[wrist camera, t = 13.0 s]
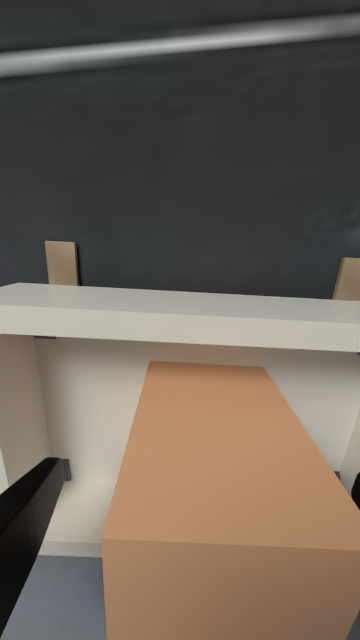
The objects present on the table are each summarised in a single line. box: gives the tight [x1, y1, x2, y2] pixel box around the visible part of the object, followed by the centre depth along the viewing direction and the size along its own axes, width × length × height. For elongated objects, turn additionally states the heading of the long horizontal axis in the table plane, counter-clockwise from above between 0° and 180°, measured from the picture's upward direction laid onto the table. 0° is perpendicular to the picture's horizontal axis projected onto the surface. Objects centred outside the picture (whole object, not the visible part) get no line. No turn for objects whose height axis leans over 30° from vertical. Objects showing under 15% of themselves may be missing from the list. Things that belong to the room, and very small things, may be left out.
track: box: [45, 241, 360, 301], centre depth 13 cm, size 17×14×1 cm
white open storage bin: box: [0, 283, 360, 557], centre depth 10 cm, size 10×15×4 cm, turn 87°
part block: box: [101, 361, 360, 640], centre depth 7 cm, size 4×4×6 cm
